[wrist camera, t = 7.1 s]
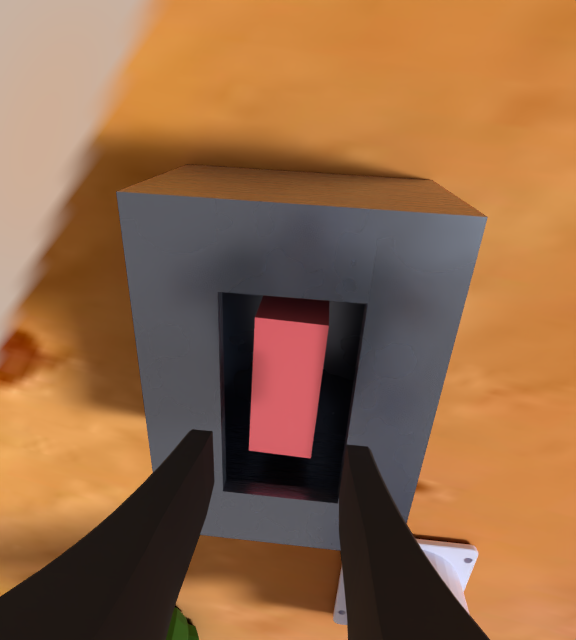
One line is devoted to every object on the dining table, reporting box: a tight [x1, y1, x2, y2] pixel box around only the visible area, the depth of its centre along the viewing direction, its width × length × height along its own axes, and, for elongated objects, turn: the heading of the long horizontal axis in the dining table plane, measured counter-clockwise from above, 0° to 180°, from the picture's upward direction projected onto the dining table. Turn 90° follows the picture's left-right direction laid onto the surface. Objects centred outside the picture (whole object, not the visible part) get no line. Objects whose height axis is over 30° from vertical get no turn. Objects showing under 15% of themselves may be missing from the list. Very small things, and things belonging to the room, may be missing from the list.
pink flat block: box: [249, 295, 329, 458], centre depth 18 cm, size 6×2×5 cm, turn 176°
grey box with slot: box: [116, 164, 487, 551], centre depth 17 cm, size 14×10×6 cm
